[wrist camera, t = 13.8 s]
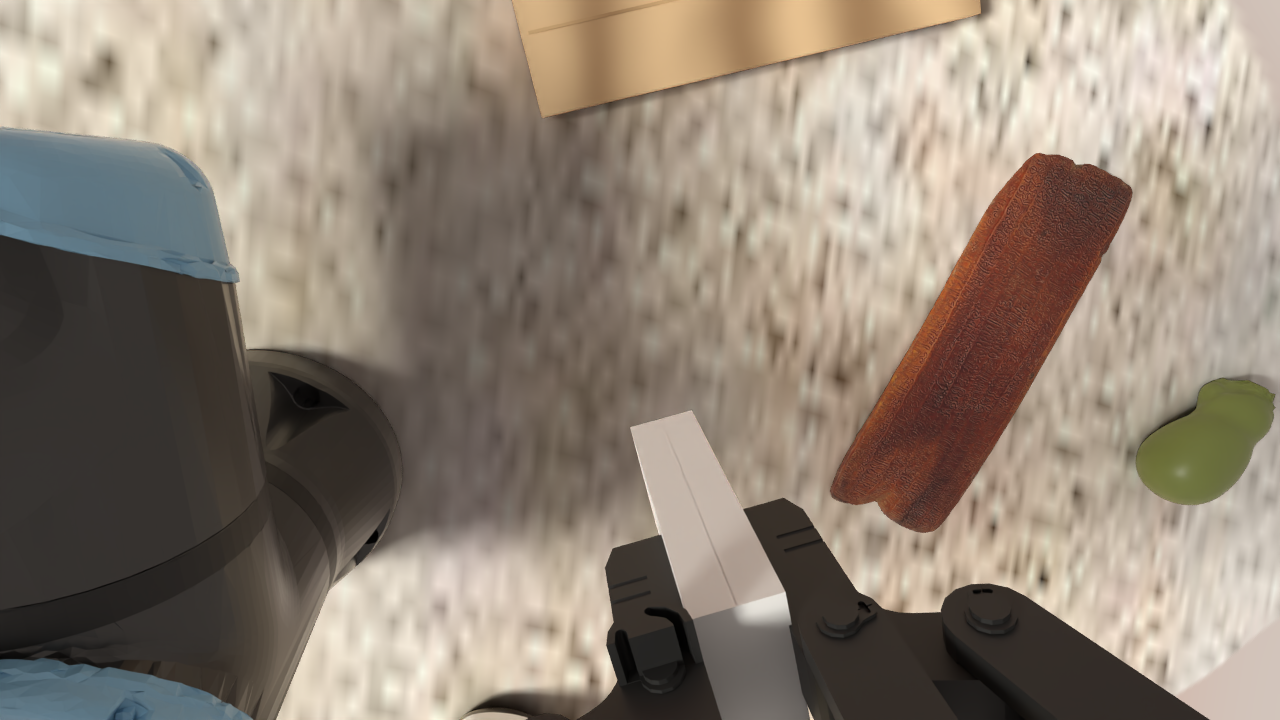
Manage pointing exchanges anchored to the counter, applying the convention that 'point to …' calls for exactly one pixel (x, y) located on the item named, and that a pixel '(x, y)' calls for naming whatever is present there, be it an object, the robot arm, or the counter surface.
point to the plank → (694, 39)
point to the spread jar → (496, 714)
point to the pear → (1207, 443)
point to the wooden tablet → (983, 341)
